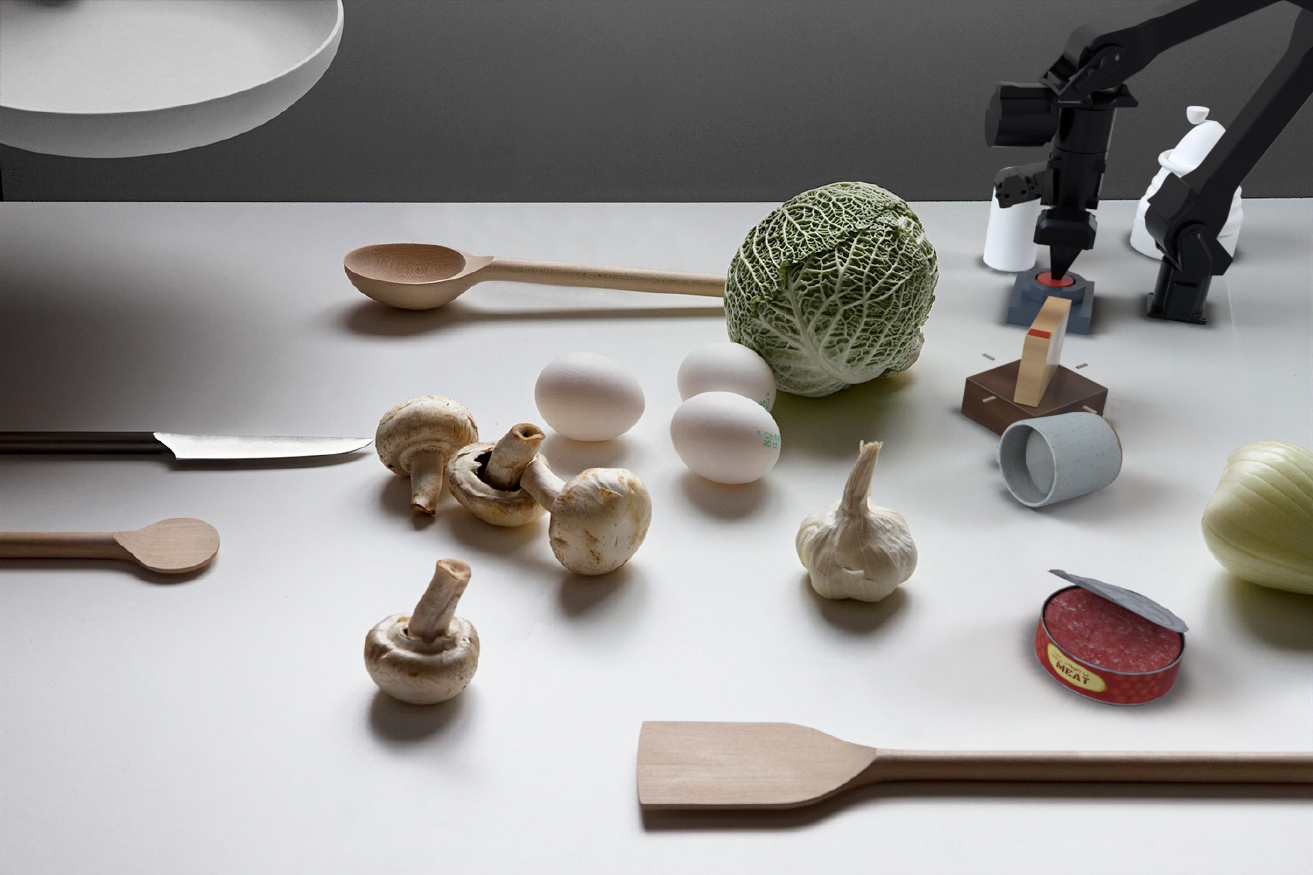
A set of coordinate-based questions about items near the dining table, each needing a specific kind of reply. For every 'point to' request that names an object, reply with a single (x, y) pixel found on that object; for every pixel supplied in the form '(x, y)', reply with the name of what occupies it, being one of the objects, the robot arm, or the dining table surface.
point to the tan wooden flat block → (1042, 351)
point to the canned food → (1109, 642)
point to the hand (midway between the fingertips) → (1056, 278)
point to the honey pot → (1182, 163)
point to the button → (1046, 280)
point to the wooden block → (997, 410)
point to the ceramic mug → (1058, 457)
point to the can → (1012, 236)
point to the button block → (1034, 294)
